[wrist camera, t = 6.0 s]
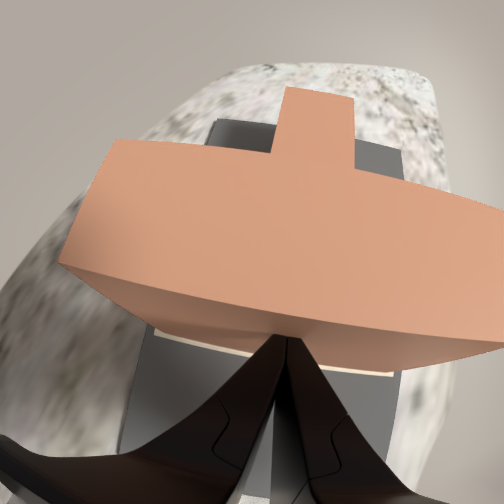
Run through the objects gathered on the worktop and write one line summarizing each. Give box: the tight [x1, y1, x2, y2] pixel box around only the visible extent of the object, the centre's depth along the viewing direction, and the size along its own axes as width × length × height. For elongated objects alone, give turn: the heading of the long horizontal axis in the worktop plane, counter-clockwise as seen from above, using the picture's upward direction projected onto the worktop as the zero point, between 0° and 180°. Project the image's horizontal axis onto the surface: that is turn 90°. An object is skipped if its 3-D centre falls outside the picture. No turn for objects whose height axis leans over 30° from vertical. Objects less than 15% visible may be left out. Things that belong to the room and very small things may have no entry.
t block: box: [57, 86, 504, 373], centre depth 13 cm, size 14×12×10 cm
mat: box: [119, 119, 404, 499], centre depth 17 cm, size 24×14×1 cm, turn 169°
